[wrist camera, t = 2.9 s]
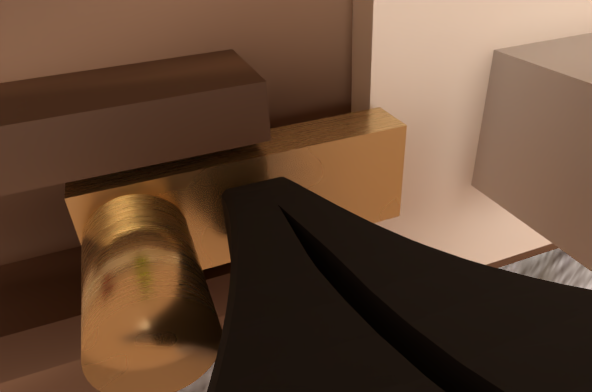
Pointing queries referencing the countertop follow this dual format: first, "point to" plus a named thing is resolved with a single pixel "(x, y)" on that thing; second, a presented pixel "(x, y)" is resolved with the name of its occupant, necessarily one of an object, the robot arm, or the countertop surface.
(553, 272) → the countertop surface
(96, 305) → the brass bolt
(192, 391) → the countertop surface
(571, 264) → the countertop surface
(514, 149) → the cover
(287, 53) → the box base
